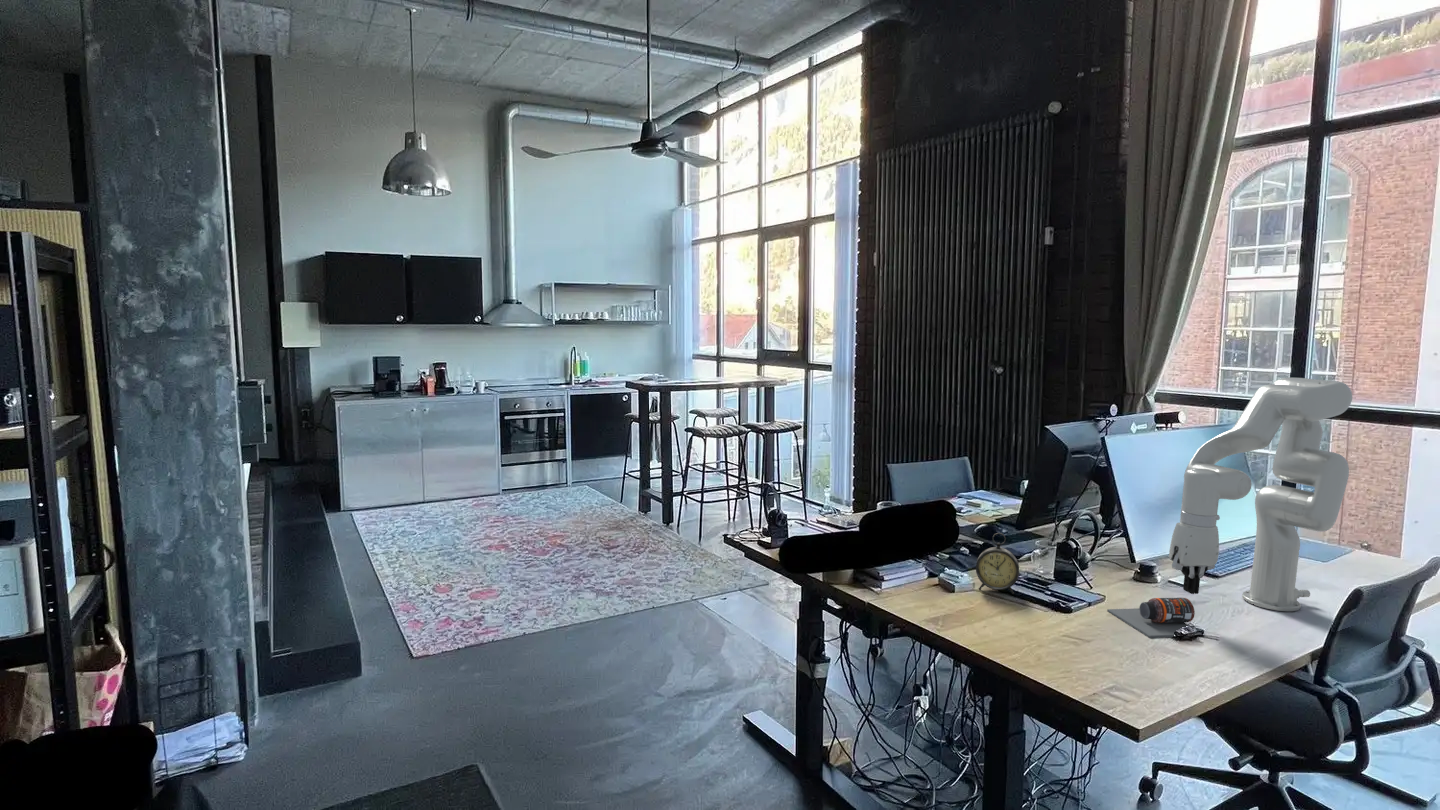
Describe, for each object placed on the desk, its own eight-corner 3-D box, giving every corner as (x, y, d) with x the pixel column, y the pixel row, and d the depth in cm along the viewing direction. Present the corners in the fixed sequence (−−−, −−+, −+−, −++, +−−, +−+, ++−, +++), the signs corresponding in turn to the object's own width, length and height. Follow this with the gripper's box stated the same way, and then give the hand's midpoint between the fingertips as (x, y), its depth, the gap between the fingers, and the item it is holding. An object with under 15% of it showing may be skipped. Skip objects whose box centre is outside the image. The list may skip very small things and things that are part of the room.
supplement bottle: (1199, 613, 185) (1155, 614, 184) (1188, 627, 189) (1145, 628, 188) (1186, 592, 190) (1143, 593, 189) (1175, 606, 194) (1133, 607, 193)
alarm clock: (974, 590, 210) (977, 532, 207) (975, 584, 214) (979, 527, 212) (1017, 597, 205) (1021, 538, 203) (1017, 590, 210) (1021, 532, 208)
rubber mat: (1157, 609, 199) (1157, 607, 199) (1203, 635, 183) (1203, 633, 183) (1107, 611, 197) (1107, 609, 197) (1149, 637, 181) (1149, 635, 181)
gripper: (1214, 515, 192) (1206, 585, 195) (1159, 515, 190) (1152, 587, 193) (1238, 523, 185) (1230, 596, 187) (1181, 524, 183) (1173, 598, 185)
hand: (1190, 591), depth 190 cm, fingers closed
